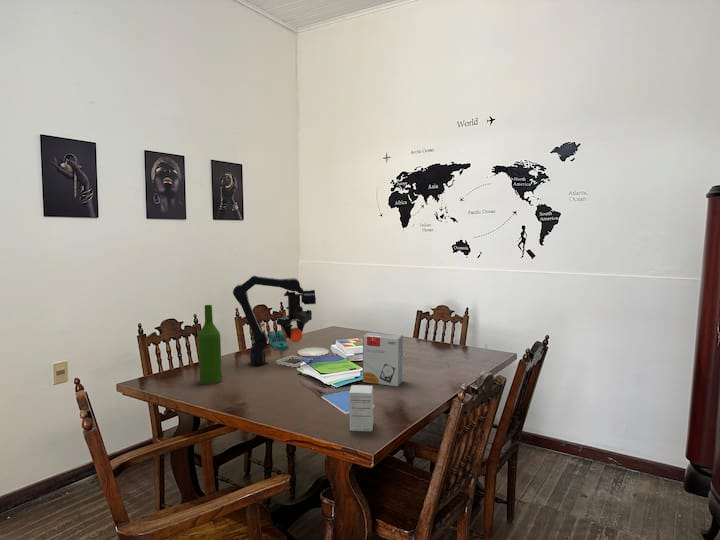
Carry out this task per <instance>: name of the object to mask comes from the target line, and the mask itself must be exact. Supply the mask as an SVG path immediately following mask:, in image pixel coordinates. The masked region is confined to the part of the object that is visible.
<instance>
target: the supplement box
mask: <svg viewBox="0 0 720 540" xmlns="http://www.w3.org/2000/svg"><path fill="white" fill-rule="evenodd" d="M349 391H350V392H349V431H351V432H373V427H374V408H373V405H374V385H361V384H360V385H355V384H351V386H350V389H349Z"/></svg>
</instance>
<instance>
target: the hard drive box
mask: <svg viewBox="0 0 720 540" xmlns="http://www.w3.org/2000/svg"><path fill="white" fill-rule="evenodd" d="M403 337H404V336H403V335H402V334H390V333H381V332H367V333H365V334H363V336H362V383H367V384H371V385H372V384H376V385H383V386H384V385H386V386H391V387H399V385H400V384H402V382H403V354H404V353H403V352H404V351H403V349H404V348H403V345H404V344H403V343H404V342H403V339H404V338H403Z"/></svg>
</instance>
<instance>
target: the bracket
mask: <svg viewBox="0 0 720 540" xmlns="http://www.w3.org/2000/svg"><path fill="white" fill-rule="evenodd" d="M268 343H269V345H270V346H271V345H272V346H273V347H272V346H271V347H272V348H273V349H275V350H276V351H279V350H283V351H287V349H288V350H289V344H288V342H286V341H285V332H284V329H283V330H277V333H276V331H274V330H272V331H271V330H270V331H269V335H268Z"/></svg>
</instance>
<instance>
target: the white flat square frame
mask: <svg viewBox="0 0 720 540" xmlns="http://www.w3.org/2000/svg"><path fill="white" fill-rule="evenodd" d="M292 358H293V359H292ZM302 358H303V357H302V356H297V355H290V356H286V357H283V358H280V359H277V360H275V364H276V363H277V364H276V365H280V364H281V366H284V365H286V366H285V367H289V366H291V367H290V368H293V367H296V368H298V366H299V367H301V366H300V363H301V362H302V361H299V362H297V363H290V362H287V361H290V360H289V359H291V360H295V359H302ZM286 360H287V361H286ZM283 361H284V362H283Z"/></svg>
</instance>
